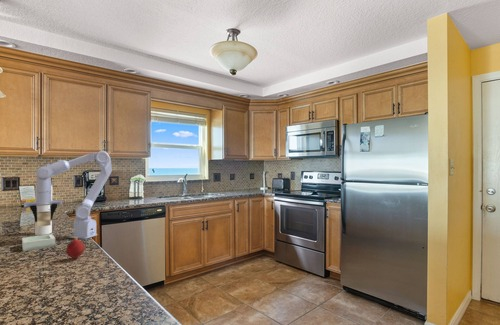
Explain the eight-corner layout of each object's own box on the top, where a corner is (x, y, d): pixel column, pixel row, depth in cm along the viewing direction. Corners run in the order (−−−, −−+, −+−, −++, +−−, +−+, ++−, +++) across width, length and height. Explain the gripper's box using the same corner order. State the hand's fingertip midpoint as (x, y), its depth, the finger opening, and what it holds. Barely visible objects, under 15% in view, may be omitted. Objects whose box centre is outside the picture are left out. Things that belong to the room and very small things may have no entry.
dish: (52, 241, 130) (52, 234, 130) (55, 246, 122) (55, 238, 122) (21, 245, 123) (22, 237, 123) (22, 251, 114) (23, 242, 114)
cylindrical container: (55, 231, 150) (55, 185, 150) (44, 235, 143) (44, 186, 143) (42, 231, 151) (43, 185, 151) (31, 234, 143) (32, 186, 144)
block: (49, 223, 135) (49, 211, 135) (50, 225, 131) (50, 212, 131) (36, 225, 132) (36, 212, 132) (37, 226, 128) (37, 213, 128)
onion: (75, 262, 101) (75, 239, 101) (62, 261, 102) (62, 239, 103) (87, 257, 107) (88, 236, 107) (75, 256, 108) (75, 235, 108)
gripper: (61, 190, 139) (60, 218, 139) (24, 192, 130) (23, 221, 130) (63, 191, 134) (62, 219, 134) (24, 193, 125) (23, 223, 124)
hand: (43, 220), depth 131 cm, fingers closed on block, 5 cm apart
